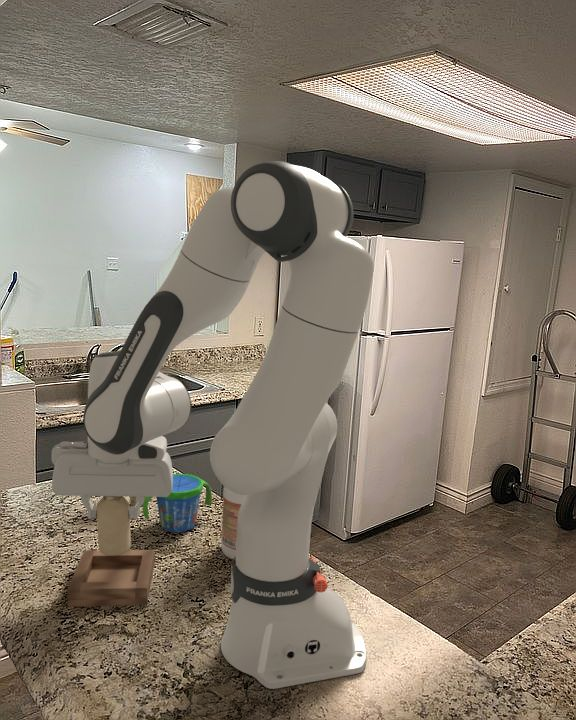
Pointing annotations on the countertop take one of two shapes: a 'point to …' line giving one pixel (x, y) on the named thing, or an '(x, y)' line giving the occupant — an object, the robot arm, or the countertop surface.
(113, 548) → the candle
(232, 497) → the fruit juice
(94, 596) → the brown shallow square tray
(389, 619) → the countertop surface
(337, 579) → the countertop surface
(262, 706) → the countertop surface
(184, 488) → the snack cup
